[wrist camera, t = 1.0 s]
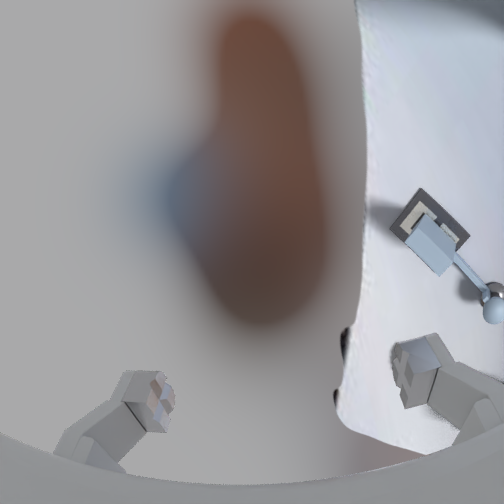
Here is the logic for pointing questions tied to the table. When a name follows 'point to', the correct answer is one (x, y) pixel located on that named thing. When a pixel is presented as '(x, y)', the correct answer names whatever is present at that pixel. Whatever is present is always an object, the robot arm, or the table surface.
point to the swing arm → (450, 262)
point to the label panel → (437, 213)
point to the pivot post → (494, 291)
